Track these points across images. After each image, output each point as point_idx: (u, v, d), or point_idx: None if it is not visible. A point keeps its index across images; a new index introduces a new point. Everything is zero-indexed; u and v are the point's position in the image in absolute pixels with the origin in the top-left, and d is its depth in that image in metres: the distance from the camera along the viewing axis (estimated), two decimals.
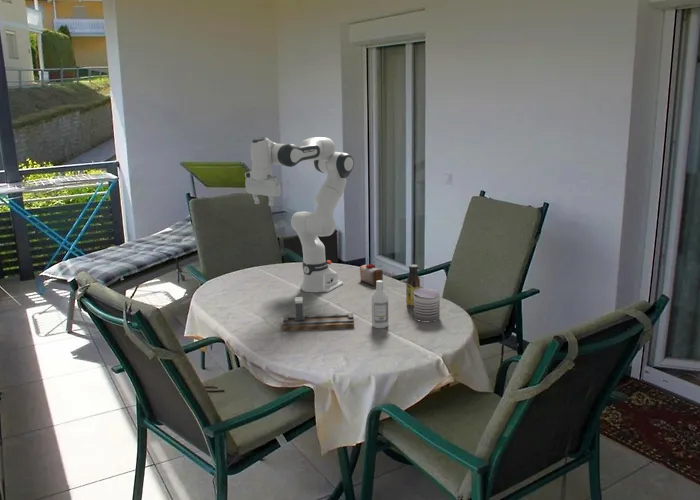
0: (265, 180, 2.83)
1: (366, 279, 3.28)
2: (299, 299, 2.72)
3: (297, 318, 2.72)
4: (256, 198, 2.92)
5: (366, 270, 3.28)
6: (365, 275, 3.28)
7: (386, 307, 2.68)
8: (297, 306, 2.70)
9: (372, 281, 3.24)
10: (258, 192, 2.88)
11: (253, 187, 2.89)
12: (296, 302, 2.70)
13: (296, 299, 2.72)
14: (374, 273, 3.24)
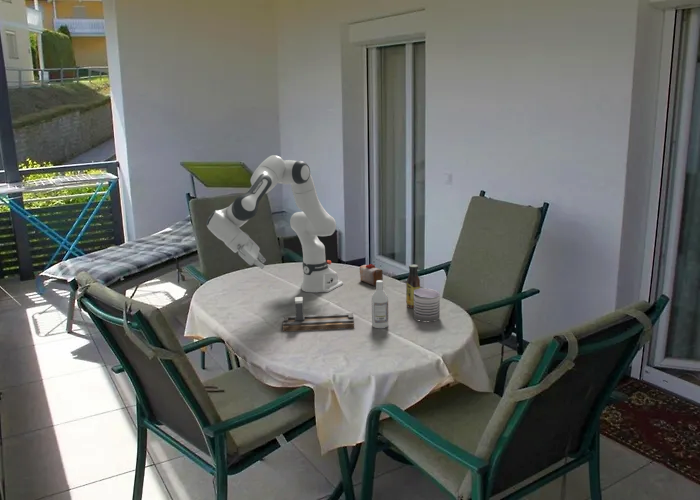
0: None
1: (366, 279, 3.28)
2: (299, 299, 2.72)
3: (297, 318, 2.72)
4: (260, 257, 2.72)
5: (366, 270, 3.28)
6: (365, 275, 3.28)
7: (386, 307, 2.68)
8: (297, 306, 2.70)
9: (372, 281, 3.24)
10: None
11: None
12: (296, 302, 2.70)
13: (296, 299, 2.72)
14: (374, 273, 3.23)
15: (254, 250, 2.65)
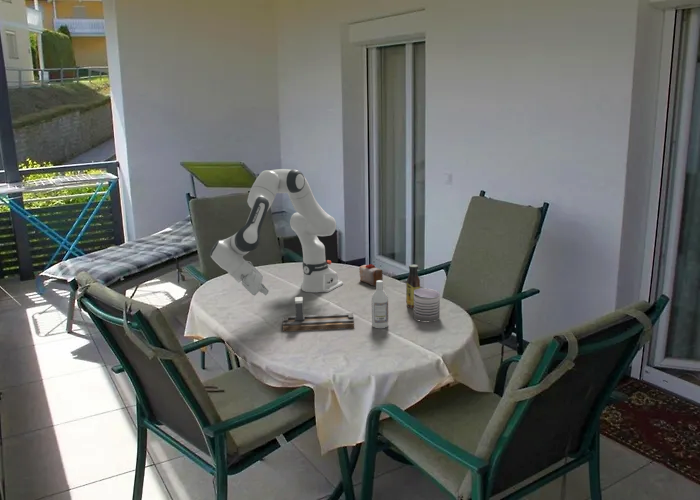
0: None
1: (366, 279, 3.28)
2: (299, 299, 2.72)
3: (297, 318, 2.72)
4: (263, 288, 2.71)
5: (366, 270, 3.28)
6: (365, 276, 3.28)
7: (386, 307, 2.68)
8: (297, 306, 2.70)
9: (372, 281, 3.24)
10: None
11: None
12: (296, 302, 2.70)
13: (296, 299, 2.72)
14: (374, 273, 3.23)
15: (257, 279, 2.68)
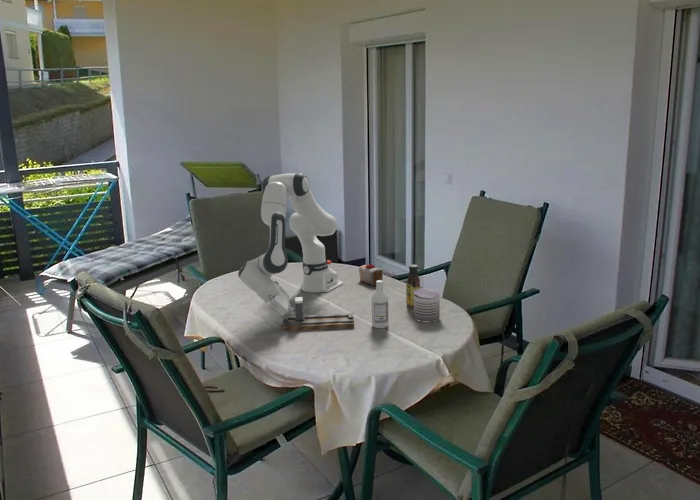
0: None
1: (366, 279, 3.28)
2: (299, 299, 2.72)
3: (297, 318, 2.72)
4: (290, 308, 2.74)
5: (366, 270, 3.27)
6: (365, 276, 3.28)
7: (386, 307, 2.68)
8: (297, 306, 2.70)
9: (372, 281, 3.24)
10: None
11: None
12: (296, 302, 2.70)
13: (296, 299, 2.72)
14: (374, 273, 3.23)
15: (285, 299, 2.72)
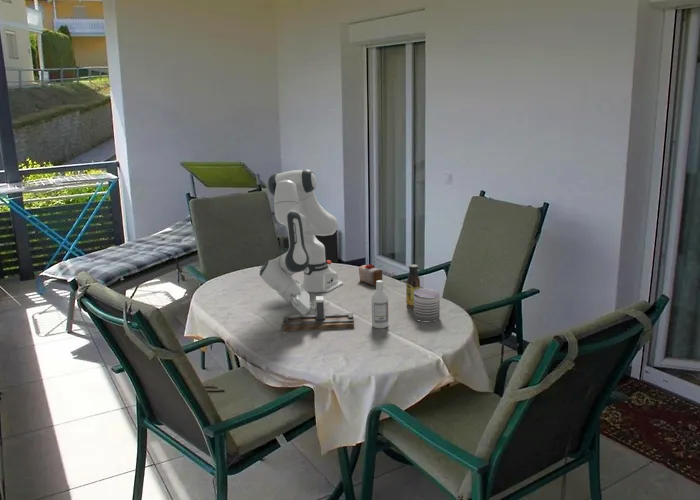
0: None
1: (366, 279, 3.28)
2: (320, 298, 2.72)
3: (318, 317, 2.72)
4: (311, 307, 2.75)
5: (366, 270, 3.27)
6: (365, 276, 3.28)
7: (386, 307, 2.68)
8: (318, 305, 2.71)
9: (372, 281, 3.24)
10: None
11: None
12: (317, 301, 2.70)
13: (317, 298, 2.72)
14: (374, 273, 3.23)
15: (306, 298, 2.72)
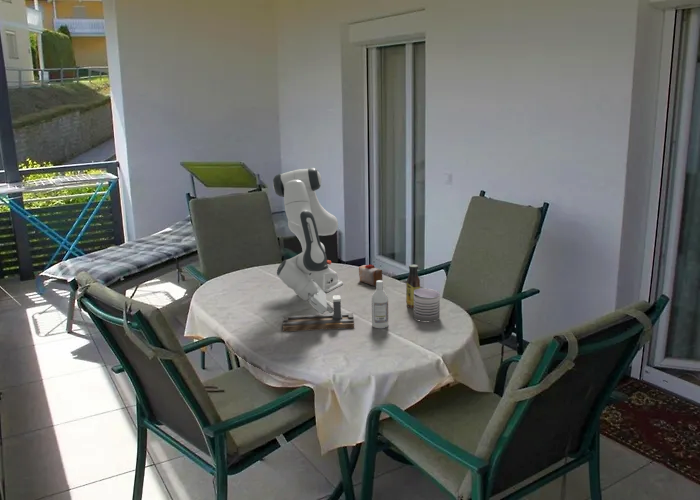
0: None
1: (366, 279, 3.28)
2: (337, 297, 2.73)
3: (335, 316, 2.73)
4: None
5: (366, 270, 3.27)
6: (365, 276, 3.28)
7: (386, 307, 2.68)
8: (335, 304, 2.71)
9: (372, 281, 3.24)
10: None
11: None
12: (334, 300, 2.71)
13: (334, 297, 2.73)
14: (374, 273, 3.23)
15: (323, 298, 2.72)
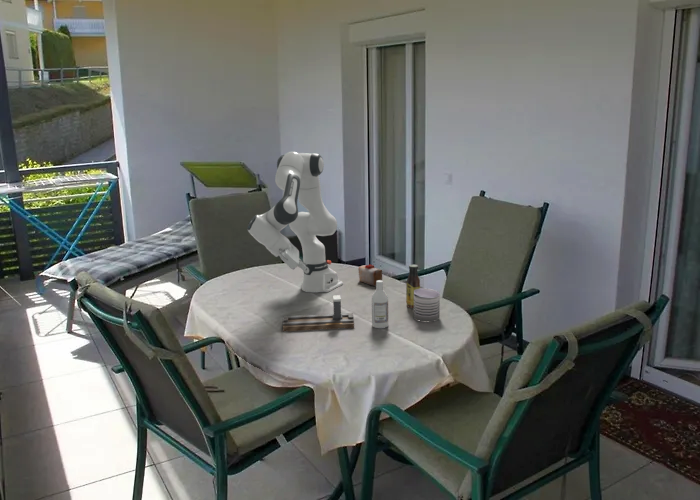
0: (281, 255, 2.63)
1: (365, 279, 3.28)
2: (337, 297, 2.73)
3: (335, 316, 2.73)
4: (300, 263, 2.69)
5: (365, 270, 3.27)
6: (365, 276, 3.27)
7: (386, 307, 2.68)
8: (336, 304, 2.71)
9: (372, 281, 3.24)
10: None
11: None
12: (334, 300, 2.71)
13: (334, 297, 2.73)
14: (374, 273, 3.23)
15: (295, 254, 2.67)
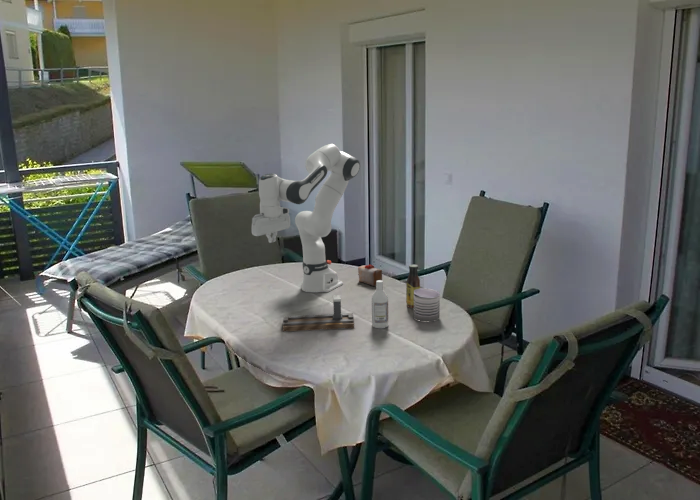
0: None
1: (365, 280, 3.27)
2: (337, 297, 2.73)
3: (335, 316, 2.73)
4: (273, 236, 2.83)
5: (365, 271, 3.27)
6: (365, 276, 3.27)
7: (386, 307, 2.68)
8: (336, 304, 2.71)
9: (372, 281, 3.24)
10: None
11: None
12: (334, 300, 2.71)
13: (334, 297, 2.73)
14: (374, 273, 3.23)
15: (273, 227, 2.80)
